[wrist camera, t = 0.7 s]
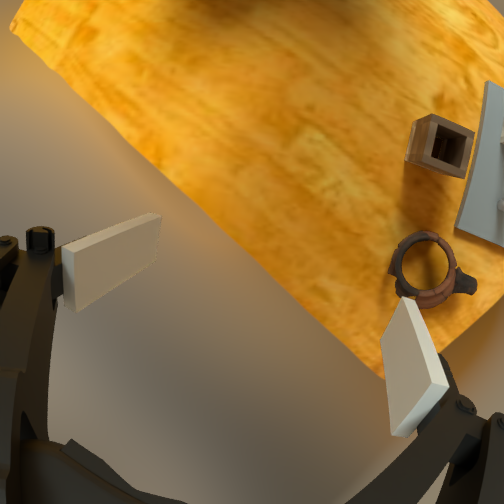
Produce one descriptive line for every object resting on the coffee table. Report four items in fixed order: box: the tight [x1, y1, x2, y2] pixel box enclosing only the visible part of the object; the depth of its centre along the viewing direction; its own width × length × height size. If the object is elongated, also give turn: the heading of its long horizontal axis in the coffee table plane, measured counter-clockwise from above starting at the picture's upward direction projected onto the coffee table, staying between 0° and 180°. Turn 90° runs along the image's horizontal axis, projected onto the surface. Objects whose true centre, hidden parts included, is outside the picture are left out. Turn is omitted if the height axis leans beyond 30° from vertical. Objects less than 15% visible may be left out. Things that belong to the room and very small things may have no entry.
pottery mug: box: [388, 231, 477, 309], centre depth 33 cm, size 12×10×8 cm
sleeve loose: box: [405, 114, 475, 179], centre depth 28 cm, size 5×5×8 cm
